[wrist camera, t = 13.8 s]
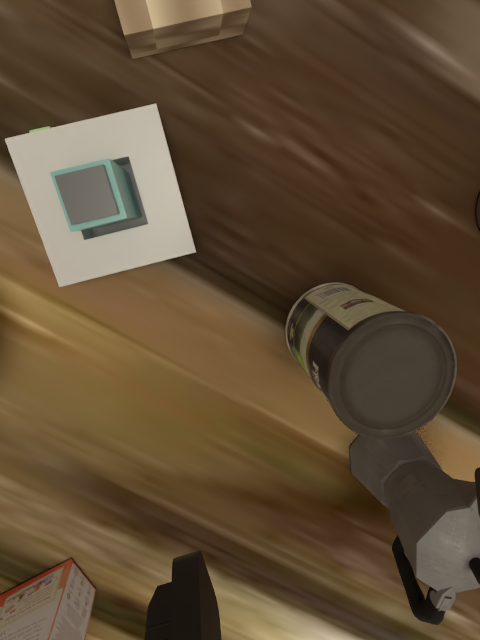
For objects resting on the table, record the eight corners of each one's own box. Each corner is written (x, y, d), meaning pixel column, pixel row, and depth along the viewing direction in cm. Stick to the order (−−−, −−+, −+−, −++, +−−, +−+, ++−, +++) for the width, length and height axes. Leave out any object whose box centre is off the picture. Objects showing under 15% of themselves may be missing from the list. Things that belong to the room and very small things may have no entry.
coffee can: (321, 390, 46) (377, 464, 33) (265, 324, 43) (301, 374, 30) (394, 332, 46) (481, 383, 32) (342, 261, 43) (414, 283, 29)
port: (158, 113, 37) (154, 98, 32) (194, 247, 41) (195, 252, 36) (26, 143, 36) (2, 133, 32) (74, 278, 40) (59, 287, 35)
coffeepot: (367, 395, 47) (472, 499, 30) (438, 411, 49) (576, 519, 32) (324, 508, 50) (396, 662, 33) (392, 519, 52) (494, 672, 35)
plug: (129, 172, 37) (106, 156, 27) (142, 216, 38) (125, 217, 28) (85, 182, 37) (45, 171, 27) (99, 227, 38) (67, 232, 28)
